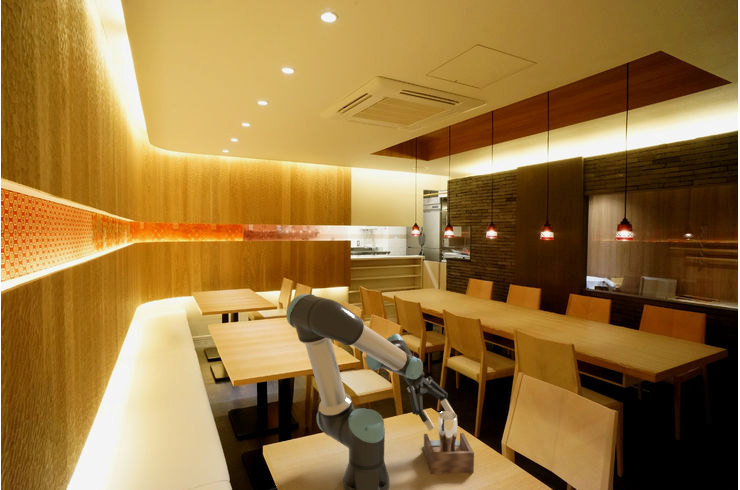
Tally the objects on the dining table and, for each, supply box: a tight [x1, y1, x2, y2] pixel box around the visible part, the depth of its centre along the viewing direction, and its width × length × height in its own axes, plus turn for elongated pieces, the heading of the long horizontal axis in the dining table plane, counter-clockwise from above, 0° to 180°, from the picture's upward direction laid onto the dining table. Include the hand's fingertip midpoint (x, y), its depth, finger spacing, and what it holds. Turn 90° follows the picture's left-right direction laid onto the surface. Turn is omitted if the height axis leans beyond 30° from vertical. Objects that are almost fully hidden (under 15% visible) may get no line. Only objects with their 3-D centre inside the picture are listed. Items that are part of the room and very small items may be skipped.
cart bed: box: [423, 432, 475, 475], centre depth 146 cm, size 15×17×7 cm
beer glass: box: [437, 410, 458, 452], centre depth 144 cm, size 7×7×15 cm
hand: (442, 422), depth 146 cm, fingers open, 13 cm apart
